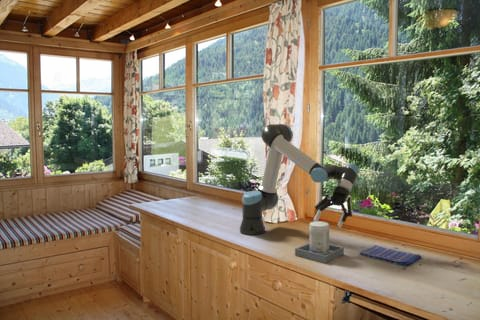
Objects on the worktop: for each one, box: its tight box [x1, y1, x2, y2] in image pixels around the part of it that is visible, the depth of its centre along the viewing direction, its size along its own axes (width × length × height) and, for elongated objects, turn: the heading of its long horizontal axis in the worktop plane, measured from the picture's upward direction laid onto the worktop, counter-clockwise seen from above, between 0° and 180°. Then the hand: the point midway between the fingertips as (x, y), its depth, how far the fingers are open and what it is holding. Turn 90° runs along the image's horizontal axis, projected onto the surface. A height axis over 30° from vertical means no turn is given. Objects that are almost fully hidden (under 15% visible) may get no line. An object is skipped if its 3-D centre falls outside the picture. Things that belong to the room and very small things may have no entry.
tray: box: [294, 242, 345, 264], centre depth 193 cm, size 17×17×3 cm
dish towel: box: [359, 244, 422, 268], centre depth 189 cm, size 17×24×3 cm
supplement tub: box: [308, 220, 330, 255], centre depth 192 cm, size 10×10×15 cm
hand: (326, 224), depth 195 cm, fingers open, 13 cm apart
